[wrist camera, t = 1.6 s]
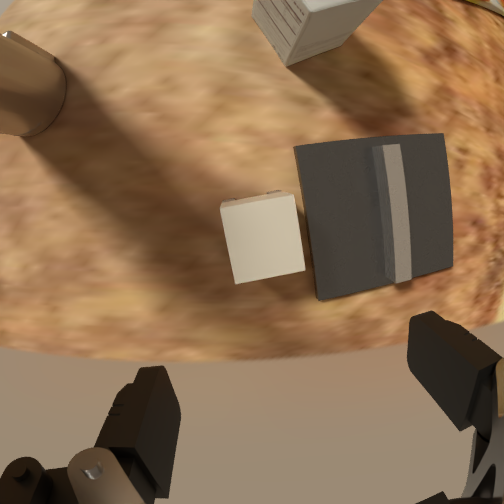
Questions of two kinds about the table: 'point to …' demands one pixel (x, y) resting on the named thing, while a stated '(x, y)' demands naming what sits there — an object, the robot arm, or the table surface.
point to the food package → (491, 5)
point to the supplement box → (309, 24)
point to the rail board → (375, 210)
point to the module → (262, 236)
